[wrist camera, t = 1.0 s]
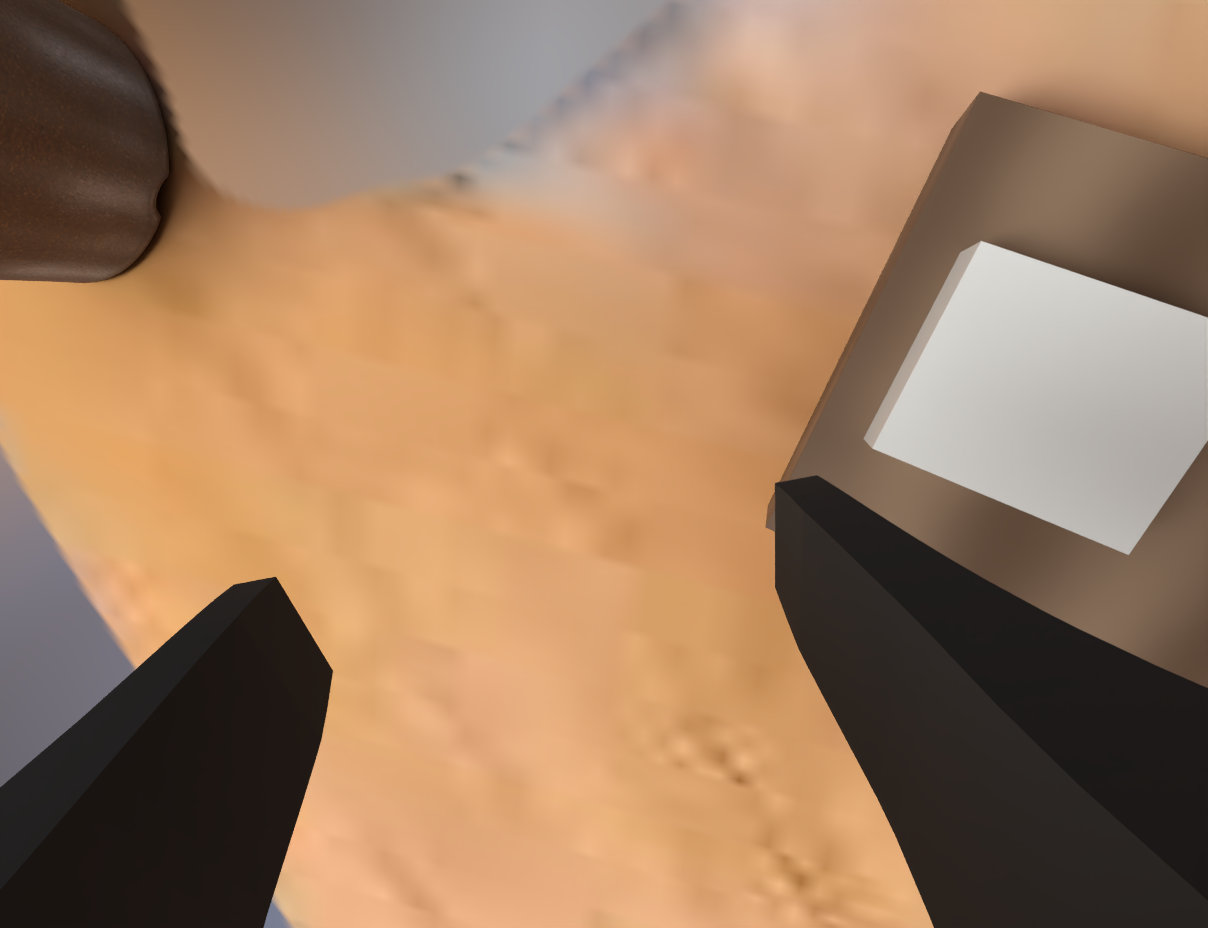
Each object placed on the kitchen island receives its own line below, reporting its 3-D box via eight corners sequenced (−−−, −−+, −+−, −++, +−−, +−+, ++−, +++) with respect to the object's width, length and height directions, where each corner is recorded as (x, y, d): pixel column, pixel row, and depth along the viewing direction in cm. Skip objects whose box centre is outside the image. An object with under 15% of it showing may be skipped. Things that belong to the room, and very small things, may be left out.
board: (1448, 281, 17) (1580, 267, 14) (1151, 677, 21) (1208, 729, 18) (952, 128, 20) (980, 91, 17) (767, 506, 24) (765, 527, 21)
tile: (1220, 341, 16) (1276, 340, 15) (1092, 533, 18) (1128, 555, 16) (960, 252, 18) (981, 241, 16) (863, 438, 19) (872, 448, 18)
